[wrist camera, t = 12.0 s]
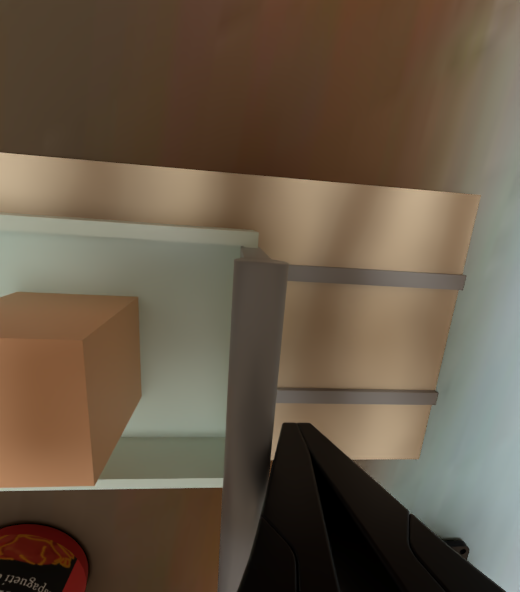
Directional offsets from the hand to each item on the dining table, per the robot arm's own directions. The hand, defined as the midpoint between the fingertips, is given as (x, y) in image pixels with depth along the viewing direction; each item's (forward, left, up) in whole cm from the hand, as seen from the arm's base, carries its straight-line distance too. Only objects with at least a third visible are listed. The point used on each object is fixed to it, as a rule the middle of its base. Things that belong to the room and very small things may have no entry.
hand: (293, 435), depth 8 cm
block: (+9, 0, -6) cm, 10 cm away
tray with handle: (+7, 0, -8) cm, 10 cm away
